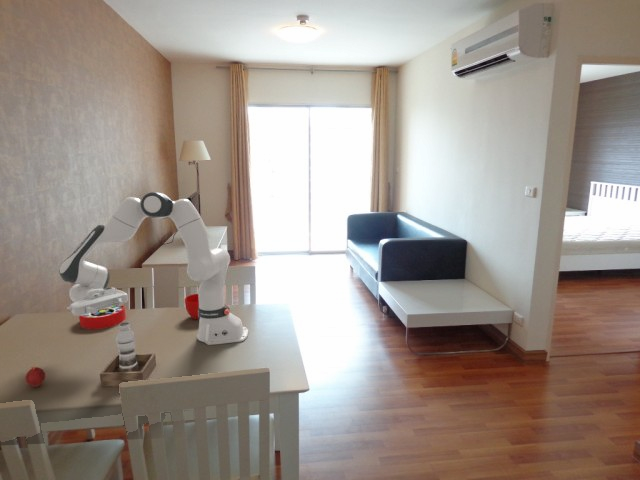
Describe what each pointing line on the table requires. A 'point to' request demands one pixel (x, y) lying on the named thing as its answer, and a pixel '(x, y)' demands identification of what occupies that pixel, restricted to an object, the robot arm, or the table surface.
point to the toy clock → (103, 318)
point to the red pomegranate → (35, 376)
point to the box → (114, 377)
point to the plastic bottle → (126, 348)
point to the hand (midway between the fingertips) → (108, 307)
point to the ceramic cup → (192, 305)
